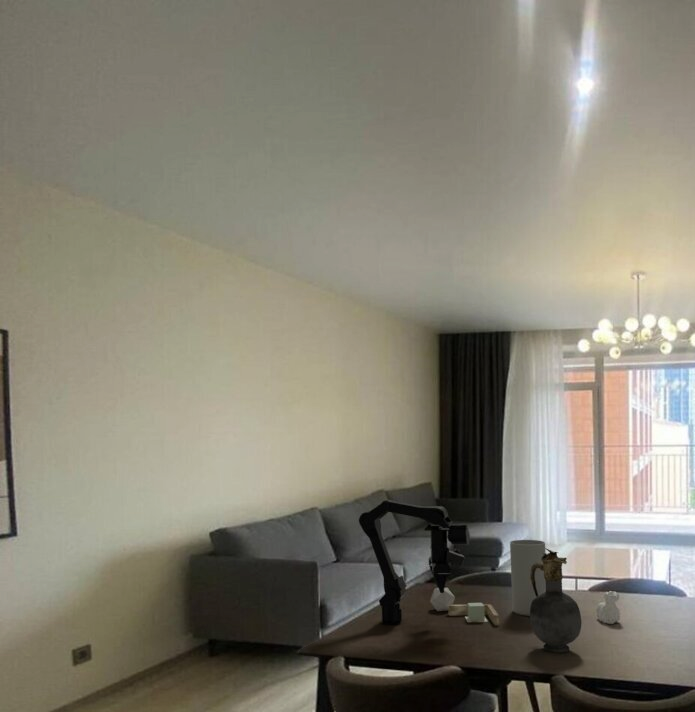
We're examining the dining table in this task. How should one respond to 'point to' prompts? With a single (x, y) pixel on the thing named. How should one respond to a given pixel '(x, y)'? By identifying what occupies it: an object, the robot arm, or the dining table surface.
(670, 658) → the dining table surface
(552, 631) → the pitcher
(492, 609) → the wooden corner guide
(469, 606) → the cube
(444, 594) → the die
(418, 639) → the dining table surface
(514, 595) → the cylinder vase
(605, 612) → the white figurine
